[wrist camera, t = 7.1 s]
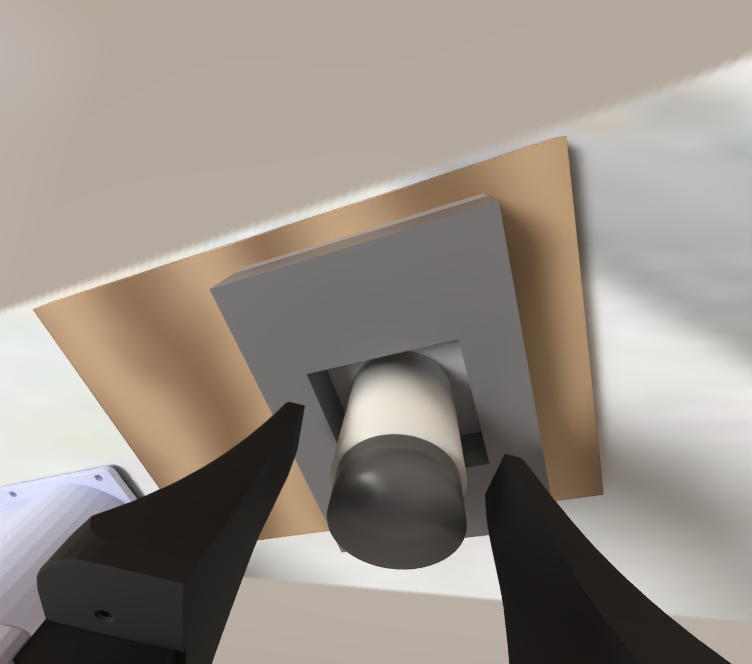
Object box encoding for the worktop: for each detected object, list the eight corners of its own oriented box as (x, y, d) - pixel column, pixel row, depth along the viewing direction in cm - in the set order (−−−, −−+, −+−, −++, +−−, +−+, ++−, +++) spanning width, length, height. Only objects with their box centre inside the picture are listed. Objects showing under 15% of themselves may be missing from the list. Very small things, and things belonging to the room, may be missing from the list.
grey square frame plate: (536, 474, 19) (556, 527, 16) (351, 501, 21) (341, 552, 18) (483, 193, 14) (498, 202, 11) (244, 266, 16) (209, 289, 13)
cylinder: (436, 443, 18) (447, 585, 12) (344, 421, 18) (310, 555, 12) (465, 363, 16) (497, 487, 10) (362, 339, 16) (333, 449, 10)
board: (209, 533, 25) (201, 547, 24) (51, 302, 19) (32, 309, 18) (595, 479, 20) (603, 494, 19) (556, 137, 14) (566, 136, 13)
